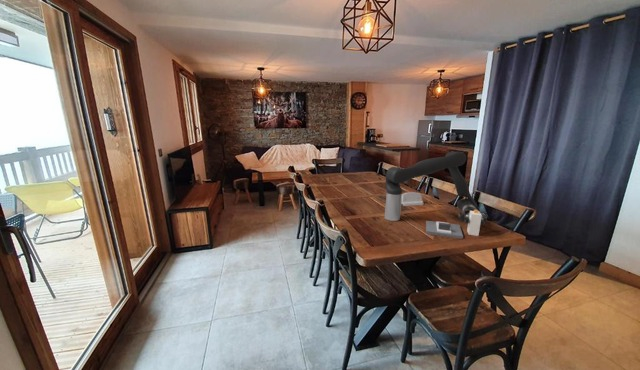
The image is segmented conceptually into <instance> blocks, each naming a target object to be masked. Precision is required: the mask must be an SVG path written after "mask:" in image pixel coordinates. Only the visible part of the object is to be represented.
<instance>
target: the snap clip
mask: <svg viewBox="0 0 640 370" xmlns="http://www.w3.org/2000/svg"><path fill="white" fill-rule="evenodd" d="M438 222H439V226H438V228H439V229H443V230H450V224H451V223H449V222H445V223H440V222H441V221H438ZM448 223H449V224H448Z"/></svg>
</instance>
